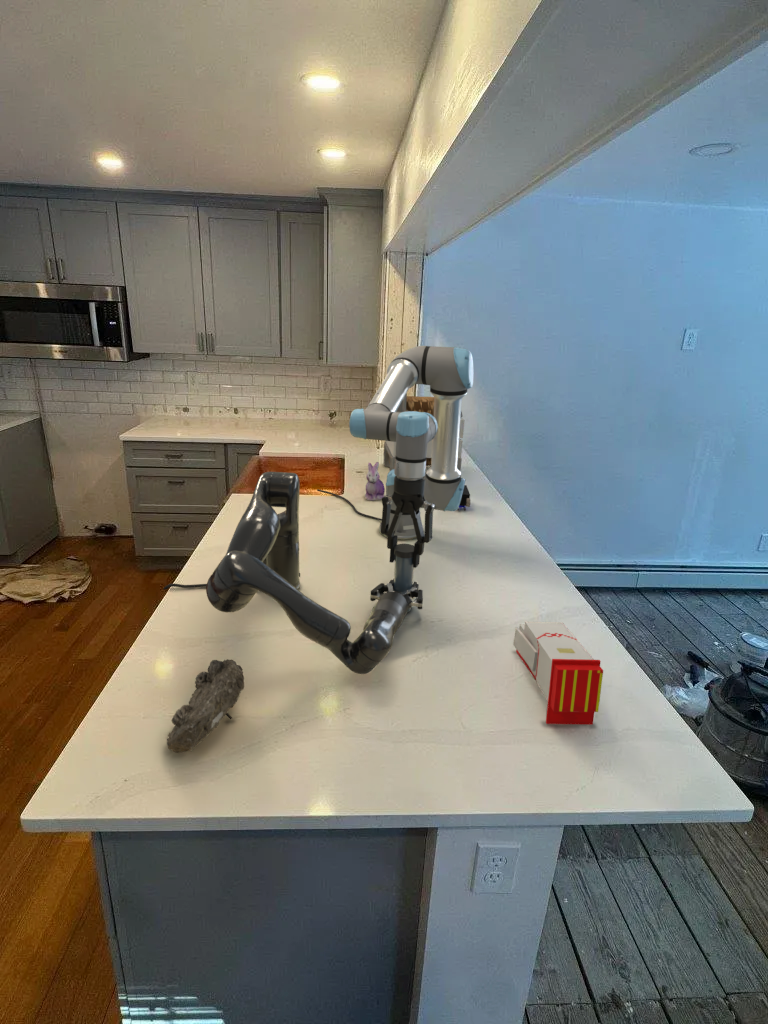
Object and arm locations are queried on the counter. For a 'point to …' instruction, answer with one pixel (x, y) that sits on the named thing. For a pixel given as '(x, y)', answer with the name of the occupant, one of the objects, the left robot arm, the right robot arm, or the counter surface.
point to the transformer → (428, 406)
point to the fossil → (206, 705)
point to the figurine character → (465, 498)
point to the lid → (404, 550)
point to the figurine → (374, 483)
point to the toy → (561, 671)
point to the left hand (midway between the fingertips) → (405, 583)
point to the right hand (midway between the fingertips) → (404, 562)
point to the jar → (403, 574)
